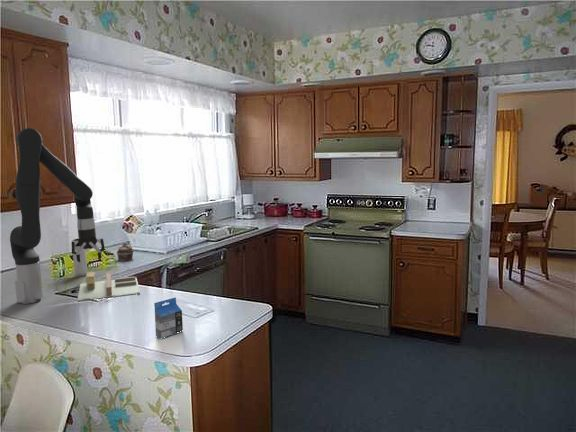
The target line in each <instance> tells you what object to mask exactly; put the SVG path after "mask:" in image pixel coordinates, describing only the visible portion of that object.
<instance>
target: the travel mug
mask: <svg viewBox="0 0 576 432" xmlns="http://www.w3.org/2000/svg"><path fill="white" fill-rule="evenodd" d="M78 240H79V238H74V239H73V240H71V242H72V241H78ZM79 248H80V245H79V244H78V243H77V244H76V246H75V251H78V249H79ZM79 254H80V261H81V262H79V261H77V256H76V254H72V261H73V272H74V278H83V277H85V278H86V274H87V272H89V271H88V261H87V260H88V259H87V249H82V250H81V252H80V253H79Z"/></svg>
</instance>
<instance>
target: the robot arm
mask: <svg viewBox="0 0 576 432" xmlns="http://www.w3.org/2000/svg"><path fill="white" fill-rule="evenodd" d="M15 142H16V145H17V146H18V147H19V148H18V149H19V163H18V167H17V170H16V171H17V172H16V179H15V184H14V185H15V186H14V187H15V188H14V189H15V190H14V193H15V200H16V203H17V205H18V208H19V211H20V214H21V225H20V226H19V225H18V226H16V227H14V228H13V229H12V230H11V232H10V235H9V242H10V248H11V254H12V258H13V260H14V263H15V274H16V280H15V281H14V285H15V295H16V302H17V303H19V304H23V305H28V304H33V303H36V302H37V303H38V302H40V301H41V300H42V298H44V291H43V282H42V272H41V271H42V270H41V262H40V255H39V254H38V253H37V252H36V251H35V249H34V248H36V247H37V246H38V245H39V244H40V242H41V240H42V231H41V230H42V229H41V220H40V209H41V208H40V206H41V204H40V200H41V199H40V198H41V170H40V169H41V167H40V163H41V164H42V165H43V166H44V167H45V168H46V170H48V171H49V172H50V174H52V175H53V176H54V178H55V179H57V180H58V181H59V182H60V183H61V184H62V185H63V186H65V187H66V188H67V189H68V190H70V191H71V192H72V193H73V194H74V202H75V206H76V219H77V220H76V223H77V224H76V225H77V226H76V228H77V235H78V236H77V237H78V238H77V239H79V240H78V241H72V240H71V244H70V245H71V254H72V255H73V254H76V256H77V261H79V262H81V261H80V254H79V253H80V252H81V250H82V249H86V250H90V249H94V250H95V251H96V252H97V258H98V261H101V259H102V252H104V251H105V241H104V238H103V237H101V238H97V234H96V224H95V219H94V208H93V206H92V201H91V199H92V197H93V190H92V188H91V187H90V186H89V185H87V184H86V183H85V182H84V181H83V180H82V179H81V178H79V177H78V176H77V174H76V173H75V172H74V171H73V170H72V169H71V168H70V167H69V166H68V165H67V164H65V163H64V162H63V161H62V160H60V158H58V157H57V156H55V155H54V154H53V153H52V152H51V151H50V150H49V149H48V148H47V147H46V146H45V144H43V137H42V135H41V133H40V132H39V131H38V130H37V129H35V128H31V127H25V128H23V129H21V130H20V131H18V132H17V134H16V136H15ZM77 243H78V244H79V245H80V248H79V249H78V251H75V246H76V244H77ZM97 243H99V244H100V246H101V248H99V247H98V245H97Z"/></svg>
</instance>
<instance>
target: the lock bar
mask: <svg viewBox="0 0 576 432" xmlns="http://www.w3.org/2000/svg"><path fill="white" fill-rule="evenodd" d="M95 275H96V273H95V270H94V271H88V272H87V274H86V277H85V283H86V284H87V289H88V286H90V285H93V287H94V289H95V282H96V276H95Z"/></svg>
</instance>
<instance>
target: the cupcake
mask: <svg viewBox="0 0 576 432" xmlns="http://www.w3.org/2000/svg"><path fill="white" fill-rule="evenodd" d="M120 244H121V245H120V246H119V247H118V249H117V251H116V255H117V259H118V261H119V262H128V261H132V260H133V256H134V251H135V250H134V249H133V246H132V243H130V242H127V243H126V242H125V243H124V242H123V243H120Z"/></svg>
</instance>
